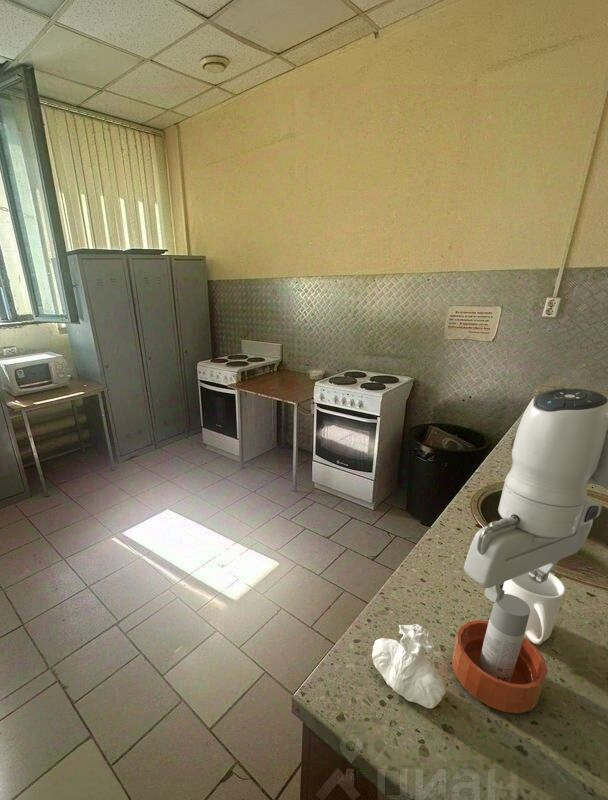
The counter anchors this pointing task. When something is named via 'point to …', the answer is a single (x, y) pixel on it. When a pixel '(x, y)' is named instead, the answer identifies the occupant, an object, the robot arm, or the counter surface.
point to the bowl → (488, 688)
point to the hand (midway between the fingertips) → (515, 588)
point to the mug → (538, 603)
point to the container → (504, 637)
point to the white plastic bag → (410, 666)
